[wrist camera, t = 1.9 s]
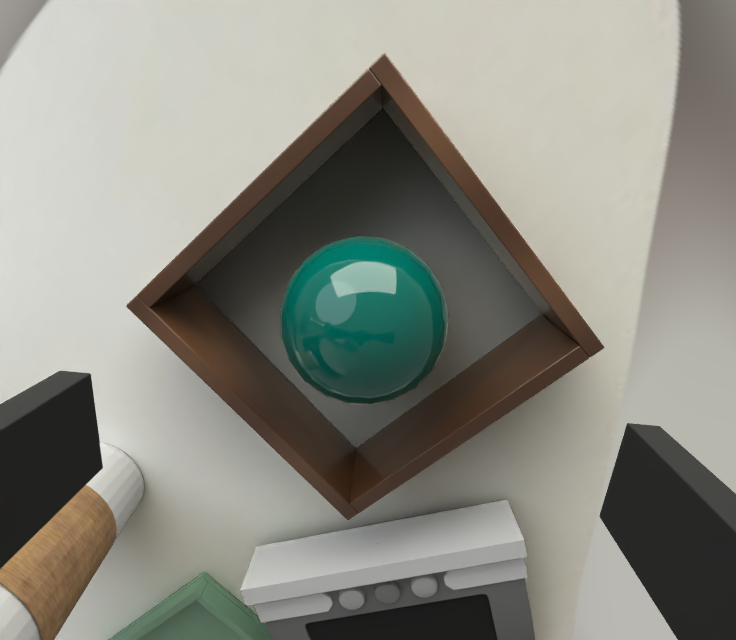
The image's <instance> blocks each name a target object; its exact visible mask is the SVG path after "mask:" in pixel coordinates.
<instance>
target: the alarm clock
mask: <svg viewBox="0 0 736 640" xmlns="http://www.w3.org/2000/svg"><path fill="white" fill-rule="evenodd" d="M524 557H527V551H526V546H525V541H524V538H523V536H522V533H521V531H520V528H519V526H518V524H517V521H516V519H515V516H514V514H513V512H512V509H511V507H510V505H509V502H508V500H501V501H496V502H491V503H486V504H480V505H475V506H470V507H464V508H459V509H454V510H448V511H443V512H438V513H432V514H427V515H422V516H416V517H411V518H406V519H400V520H395V521H390V522H384V523H379V524H374V525H368V526H363V527H358V528H352V529H347V530H342V531H336V532H331V533H326V534H320V535H315V536H310V537H304V538H299V539H294V540H288V541H283V542H278V543H272V544H267V545H262V546H257V547H256V548H255V551H254V554H253V556H252V559H251V562H250V565H249V567H248V570H247V573H246V576H245V578H244V581H243V584H242V587H241V589H240V591H241V594H242V596H243V599H244V601H245V603H246V606H248V605H254V607H255V609H256V612H257V614H258V617H259V619H260V622H261V623H262V622H265V623H266V625H267V628H268V630H269V632H270V634H271V637H272V639H273V640H535V636H534V629H533V623H532V617H531V611H530V605H529V600H528V594H527V589H526V583H525V578H528V576H527V571H526V566H525V561H524Z"/></svg>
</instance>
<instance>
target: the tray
mask: <svg viewBox="0 0 736 640" xmlns="http://www.w3.org/2000/svg"><path fill="white" fill-rule="evenodd" d="M109 640H273V639H272V637H271V634H270V632H269V630H268V628H267V625H266V623H264V622H262V623H261V622H260V619H259V618H258V617H257V616H256V615H255V614H254V613H253V612H251V611H250V610H249V609H248V608H247V607H245V606H244V605H243V604H242V603H241V602H239V601H238V600H237V599H236V598H235V597H233V596H232V595H231V594H230V593H229V592H228V591H226V590H225V589H224V588H223V587H222V586H220V585H219V584H218V583H217V582H216V581H214V580H213V579H212V578H211V577H210V576H208V575H207V574H206V573H205V572H203V573H202V574H201V575H199V576H198V577H196V578H195V579H194V580H192V581H191V582H189V583H188V584H187V585H185V586H184V587H182V588H181V589H179V590H178V591H177V592H175V593H174V594H172V595H171V596H170V597H168V598H167V599H165V600H164V601H163V602H161V603H160V604H158V605H157V606H155V607H154V608H153V609H151V610H150V611H148V612H147V613H146V614H144V615H143V616H141V617H140V618H139V619H137V620H136V621H134V622H133V623H132V624H130V625H129V626H127V627H126V628H124V629H123V630H122V631H120V632H119V633H117V634H116V635H115V636H113V637H112V638H110V639H109Z"/></svg>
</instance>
